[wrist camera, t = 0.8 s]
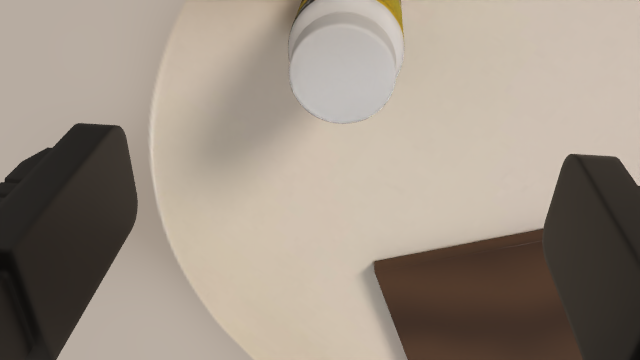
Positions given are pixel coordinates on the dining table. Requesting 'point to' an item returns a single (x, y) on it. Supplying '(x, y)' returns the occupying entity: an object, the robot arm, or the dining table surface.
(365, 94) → the supplement bottle
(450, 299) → the plate
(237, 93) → the dining table surface
